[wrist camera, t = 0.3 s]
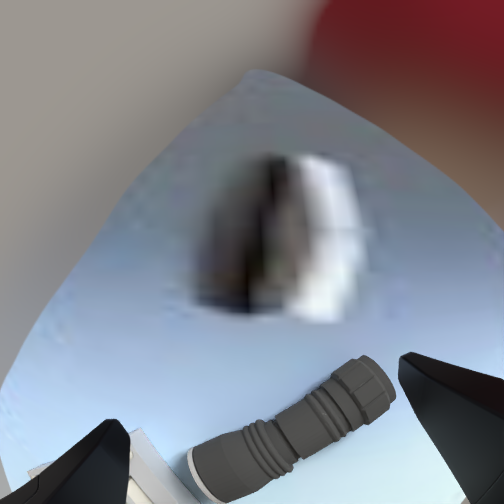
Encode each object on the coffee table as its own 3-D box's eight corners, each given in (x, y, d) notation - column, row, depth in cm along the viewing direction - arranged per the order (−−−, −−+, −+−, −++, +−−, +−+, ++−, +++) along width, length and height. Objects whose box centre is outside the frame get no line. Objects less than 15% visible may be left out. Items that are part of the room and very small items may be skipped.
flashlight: (353, 347, 22) (380, 348, 17) (382, 395, 20) (413, 406, 15) (195, 439, 20) (179, 464, 14) (229, 484, 18) (223, 516, 13)
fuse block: (206, 509, 17) (200, 528, 14) (94, 532, 15) (81, 545, 12) (140, 427, 20) (125, 438, 16) (42, 464, 17) (24, 472, 14)
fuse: (162, 491, 18) (143, 520, 12) (138, 498, 17) (116, 524, 12) (142, 466, 18) (118, 492, 13) (119, 474, 18) (93, 497, 13)
